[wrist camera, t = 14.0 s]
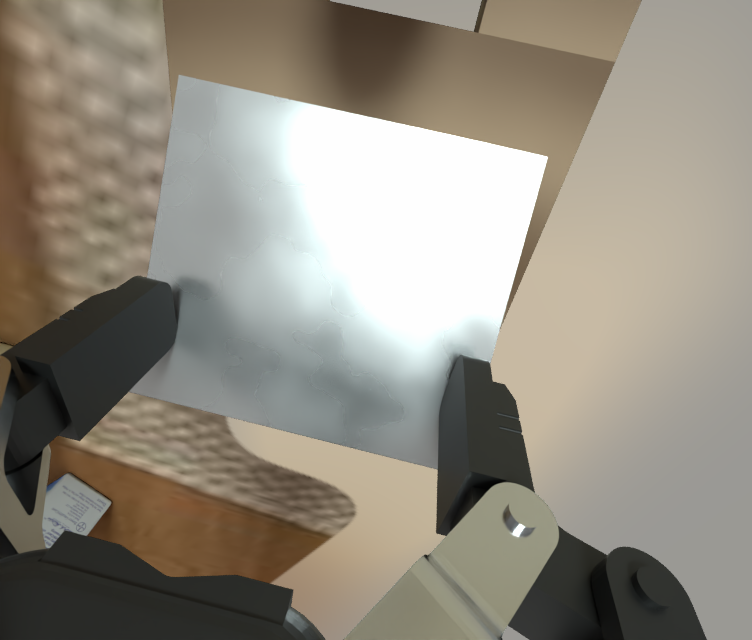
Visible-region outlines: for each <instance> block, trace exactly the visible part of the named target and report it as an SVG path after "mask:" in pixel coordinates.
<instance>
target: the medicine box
mask: <svg viewBox="0 0 752 640" xmlns="http://www.w3.org/2000/svg"><path fill="white" fill-rule="evenodd" d="M110 505H111V501H110V500H109V499H107V498H106V497H105V496H103V495H102V494H101V493H99V492H98V491H96V490H95V489H93V488H92V487H90V486H89V485H87V484H86V483H84V482H83V481H81V480H80V479H78V478H77V477H75V476H74V475H73V474H71V473H67V474H65V475H63V476H62V477H61V478H59V479H57V480H56V481H54V482H53V483H51V484H50V485H48V486H47V489H46V497H45V505H44V513H43V522H42V530H43V537H44V542H45V546H46V548H50V547H51V546H52V545H53V544H54V543H55V541H56V540H57V539H58V538H59V537H60V535H61V534H62V533H63V532H64V530H66V531H70V532H74V533H77V534H81V535H85V536H87V535H88V534H89V532H90V531H91V530H92V529H93V527H94V526H95V525H96V523H97V522H98V521H99V519H100V518H101V517H102V515H103V514H104V513H105V512H106V510H107V509H108V508H109V506H110Z"/></svg>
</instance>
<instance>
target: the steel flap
mask: <svg viewBox="0 0 752 640" xmlns="http://www.w3.org/2000/svg"><path fill="white" fill-rule="evenodd" d="M547 158H548V157H546V156H542V155H537V154H533V153H528V152H524V151H519V150H515V149H510V148H506V147H501V146H497V145H492V144H488V143H483V142H479V141H474V140H470V139H465V138H461V137H456V136H452V135H447V134H443V133H438V132H434V131H429V130H425V129H420V128H416V127H411V126H407V125H402V124H398V123H393V122H389V121H384V120H380V119H375V118H371V117H366V116H362V115H357V114H353V113H348V112H344V111H339V110H335V109H330V108H326V107H321V106H317V105H313V104H308V103H304V102H299V101H295V100H290V99H286V98H281V97H277V96H272V95H268V94H263V93H259V92H254V91H250V90H245V89H241V88H236V87H232V86H227V85H223V84H218V83H214V82H209V81H205V80H200V79H196V78H191V77H187V76H182V75H179V77H178V83H177V90H176V96H175V102H174V109H173V115H172V122H171V128H170V134H169V141H168V147H167V154H166V160H165V166H164V173H163V179H162V186H161V192H160V198H159V205H158V211H157V218H156V224H155V230H154V237H153V243H152V250H151V256H150V262H149V269H148V275H147V278H150V279H154V280H159V281H163V282H167V283H168V284H169V285H170V286H171V289H172V295H173V302H174V310H175V317H176V324H177V334H176V339H175V342H174V344H173V346H172V347H171V349H170V350H169V351H168V352H167V353H166V354H165V355H164V356H163V357H162V358H161V359H160V360H159V361H158V362H157V363H156V364H155V365H154V366H153V367H152V368H151V369H150V370H149V371H148V372H147V373H146V374H145V375H144V376H143V377H142V378H141V379H140V380H139V381H138V382H137V384H136V385H135V386H134V387H133V388H132V389H131V390H130V391H129V392H131V393H135V394H139V395H143V396H147V397H151V398H155V399H159V400H163V401H167V402H171V403H175V404H179V405H183V406H187V407H191V408H195V409H199V410H203V411H207V412H211V413H215V414H219V415H223V416H227V417H231V418H235V419H239V420H243V421H247V422H251V423H255V424H259V425H263V426H267V427H271V428H275V429H279V430H283V431H287V432H291V433H295V434H299V435H302V436H306V437H311V438H314V439H318V440H323V441H327V442H330V443H334V444H339V445H342V446H347V447H350V448H355V449H358V450H362V451H366V452H370V453H374V454H378V455H382V456H386V457H390V458H394V459H398V460H402V461H406V462H410V463H414V464H418V465H422V466H426V467H430V468H434V469H438V438H439V412H440V406H441V402H442V398H443V395H444V392H445V390H446V387H447V385H448V382H449V379H450V377H451V374H452V372H453V369H454V367H455V364H456V362H457V359H458V357H459V356H460V355H461V354H462V355H466V356H471V357H475V358H479V359H483V360H487V361H489V362H490V363H491V359H492V355H493V352H494V348H495V345H496V341H497V337H498V334H499V330H500V327H501V323H502V320H503V316H504V312H505V309H506V305H507V302H508V298H509V294H510V291H511V287H512V284H513V280H514V276H515V273H516V269H517V266H518V262H519V258H520V255H521V251H522V248H523V244H524V240H525V237H526V233H527V230H528V226H529V222H530V219H531V215H532V212H533V208H534V204H535V201H536V197H537V194H538V190H539V186H540V183H541V179H542V176H543V172H544V169H545V165H546V161H547Z"/></svg>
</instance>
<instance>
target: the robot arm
mask: <svg viewBox="0 0 752 640" xmlns="http://www.w3.org/2000/svg"><path fill="white" fill-rule="evenodd" d="M176 334H177V324H176V317H175V310H174V302H173V295H172V289H171V286H170V285H169V284H168V283H167V282H163V281H159V280H154V279H150V278H146V277H142V276H135V277H133V278H131V279H130V280H128V281H127V282H125V283H124V284H122V285H121V286H119V287H118V288H116V289H112V290H109V291H106V292H103V293H100V294H97V295H94V296H91V297H90V298H88V299H87V300H85V301H84V302H82V303H80V304H79V305H77V306H76V307H74V310H70V311H68V312H66V313H65V314H63V315H62V316H60V319H59V320H57V319H55V320H54V321H52V322H51V323H49V324H48V325H46V326H45V327H43V328H41V329H40V330H38V331H37V332H35V333H34V334H32V335H30V336H29V337H27V338H26V339H24V340H23V341H21V342H19V343H18V344H16V345H15V346H13V347H12V348H10V349H9V350H7V351H5V352H4V353H2V354H1V355H0V640H325V638H324V637H323V635H322V634H321V633H320V632H319V631H318V629H317V628H316V627H315V626H314V625H313V624H312V623H311V622H310V621H309V620H308V619H307V618H306V617H305V616H304V615H303V614H301V613H300V612H298V611H297V610H295V609H294V608H292V607H291V603H292V596H293V590H292V589H288V588H284V587H281V586H276V585H273V584H269V583H265V582H261V581H258V580H254V579H250V578H246V577H242V576H238V575H223V576H195V577H169V576H166V575H164V574H163V573H161V572H160V571H158V570H157V569H155V568H154V567H152V566H151V565H149V564H148V563H146V562H145V561H143V560H142V559H141V558H139V557H138V556H136V555H135V554H133V553H132V552H130V551H129V550H127V549H126V548H124V547H123V546H121V545H120V544H116V543H112V542H108V541H104V540H100V539H97V538H93V537H89V536H85V535H81V534H77V533H74V532H70V531H66V530H64V532H63V533H62V534H61V535H60V537H59V538H58V539H57V540H56V541H55V543H54V544H53V545H52V546H51V547H50V548H46V546H45V542H44V537H43V530H42V522H43V513H44V505H45V497H46V489H47V481H48V473H49V465H50V457H51V449H50V446H49V443H50V442H51V441H52V440H53V439H54V438H55V437H56V436H62V437H66V438H70V439H74V440H78V441H80V440H81V439H82V438H83V437H84V436H85V435H86V434H87V433H88V432H89V431H90V430H91V429H92V428H93V427H94V426H95V425H96V424H97V423H98V422H99V421H100V420H101V419H102V418H103V417H104V416H105V415H106V414H107V413H108V412H109V411H110V410H111V409H112V408H113V407H114V406H115V405H116V404H117V403H118V402H119V401H120V400H121V399H122V398H123V397H124V396H125V395H126V394H127V393H128V392H129V391H130V390H131V389H132V388H133V387H134V386H135V385H136V384H137V382H138V381H139V380H140V379H141V378H142V377H143V376H144V375H145V374H146V373H147V372H148V371H149V370H150V369H151V368H152V367H153V366H154V365H155V364H156V363H157V362H158V361H159V360H160V359H161V358H162V357H163V356H164V355H165V354H166V353H167V352H168V351H169V350H170V349H171V347H172V346H173V344H174V342H175V339H176ZM521 433H522V429H521V425H520V421H519V414H518V410H517V405H516V401H515V399H514V398H513V396H512V394H511V393H510V392H509V390H508V389H507V387H506V386H505V385H504V384H500V383H497V382H493V381H492V374H491V367H490V362H489V361H487V360H483V359H479V358H475V357H471V356H466V355H462V354H461V355H460V356H459V357H458V359H457V362H456V364H455V367H454V369H453V372H452V374H451V377H450V379H449V382H448V385H447V387H446V390H445V392H444V395H443V398H442V402H441V406H440V412H439V438H438V481H437V523H436V533H437V534H441V535H445V536H446V537H445V538H444V539H443V541H442V542H441V543H440V544H439V545H438V546H437V547H436V548H435V549H434V550H433V551H432V552H431V553H430V554H429V555H424V556H422V557H421V558H420V559H419V560H418V561H417V562H416V563H415V564H414V565H413V566H412V567H411V568H410V569H409V570H408V571H407V572H406V573H405V574H404V575H403V576H402V577H401V578H400V579H399V581H398V582H397V583H396V584H395V585H394V586H393V587H392V588H391V589H390V590H389V591H388V592H387V593H386V595H385V596H384V597H383V598H382V599H381V600H380V601H379V602H378V603H377V604H376V605H375V606H374V607H373V608H372V610H371V611H370V612H369V613H368V614H367V615H366V616H365V617H364V618H363V619H362V620H361V621H360V622H359V623H358V624H357V626H356V627H355V628H354V629H353V630H352V631H351V632H350V633H349V634H348V635H347V636H346V638H344V639H343V640H502V638H501V637H502V635H503V633H504V631H505V629H506V627H507V626H510V627H511V628H513V629H514V630H516V631H517V632H519V633H520V634H522V635H523V636H525V637H526V638H528V639H529V640H707V639H706V637H705V634H704V632H703V629H702V627H701V624H700V622H699V620H698V617H697V615H696V612H695V610H694V607H693V605H692V603H691V601H690V599H689V596H688V595H687V593H686V591H685V590H684V588H683V587H682V585H681V584H680V583H679V581H678V580H677V579H676V578H675V577H674V575H673V574H672V573H671V572H670V571H669V570H668V569H667V568H666V567H665V566H664V565H663V564H661V563H660V562H659V561H658V560H656V559H655V558H653V557H652V556H650V555H648V554H647V553H644V552H643V551H640V550H638V549H635V548H631V547H619V548H616V549H614V550H613V551H612V552H610V554H608V555H606V554H604V553H602V552H600V551H598V550H597V549H595V548H593V547H591V546H590V545H588V544H586V543H584V542H583V541H581V540H579V539H577V538H576V537H574V536H572V535H570V534H569V533H567V532H566V531H564V530H563V529H562V528H560V527H559V526H558V524H557V522H556V519H555V517H554V515H553V513H552V511H551V510H550V509H549V507H548V505H547V504H546V503H545V502H544V501H543V500H542V499H541V498H540V497H539V496H538V495H537V494H535V491H534V487H533V482H532V478H531V473H530V468H529V463H528V458H527V453H526V448H525V443H524V439H523V435H521Z"/></svg>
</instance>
